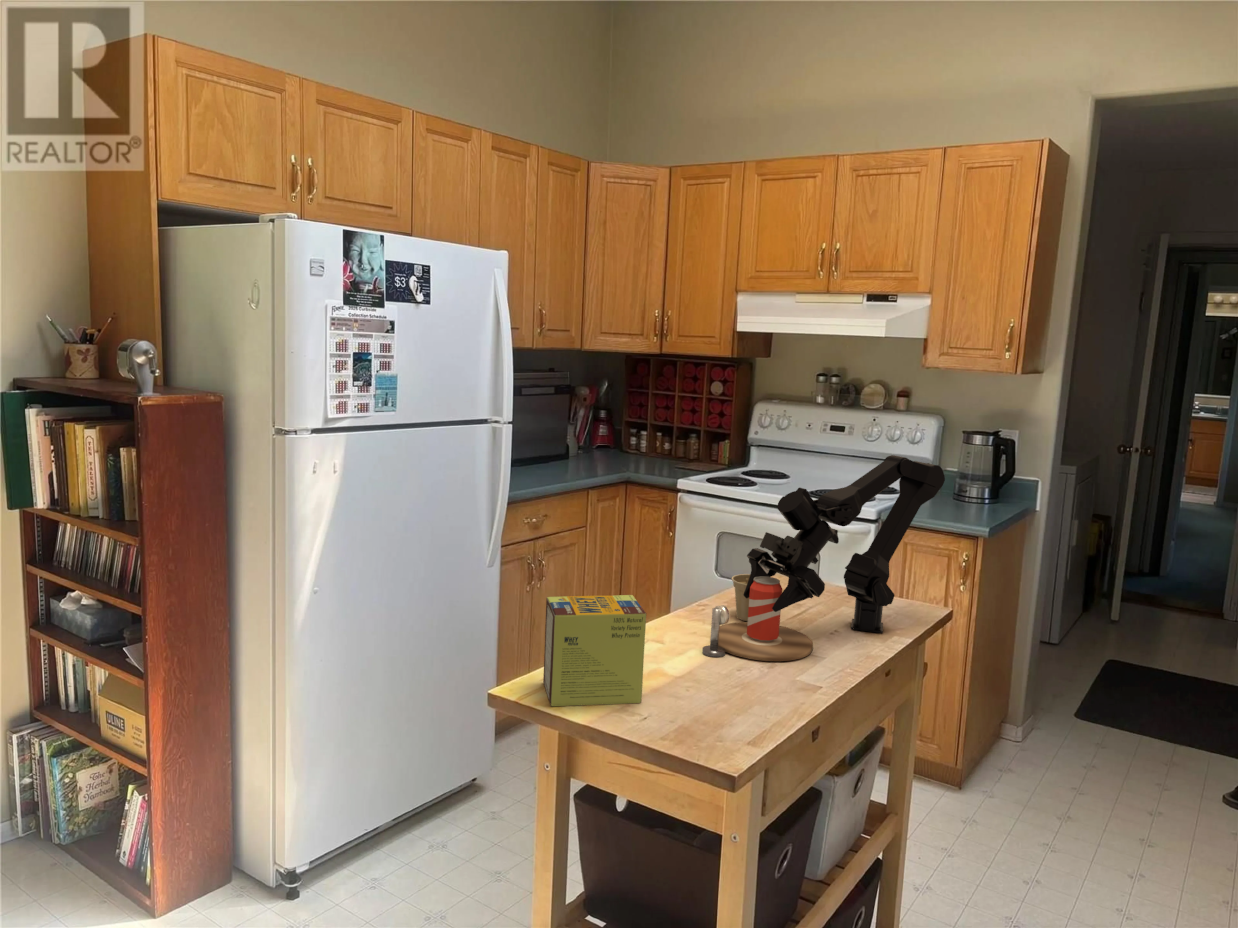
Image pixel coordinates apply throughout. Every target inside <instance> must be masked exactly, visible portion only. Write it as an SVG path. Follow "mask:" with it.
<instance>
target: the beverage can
mask: <svg viewBox="0 0 1238 928" xmlns="http://www.w3.org/2000/svg"><path fill="white" fill-rule="evenodd" d="M782 592H783V587H782V585H781V580H780V579H778V578H776V577H774V576H771V577H765V576H760V577H755V578H754V582H753V583H752V585H751V586H750V596H749V610H748V620H747V622H748V623H747V635H749V636H750V637H751V638H752V639H753V640H756V641H759V642H771V641H773V640H774V639H777V638H778V636H779V626H781V625H780V623H781V613H782V609H781V610H779V611H777V612H774V611H773V610H772V607H773V605H774V604H775V602H776V601H777V599H778V598H779V597H780V595H781V594H782Z"/></svg>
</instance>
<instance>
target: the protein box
mask: <svg viewBox="0 0 1238 928" xmlns="http://www.w3.org/2000/svg"><path fill="white" fill-rule="evenodd" d="M545 606H546V607H545V630H544V655H543V656H544V657H543V658H544V659H543V660H544V661H543V682H542V683H543V685H544V689H545V692H546V696H547V699H548V702H549V706H550V707H570V706H596V705H597V706H598V705H599V706H601V705H623V704H625V705H626V704H627V705H629V704H640V703H641V704H642V699H643V696H642V695H643V684H644V683H643V681H644V680H643V679H644V663H645V662H644V660H645V659H644V658H645V644H646V641H645V640H646V625H647V612H646V611H645V609H643V607H642V606H641V605H640V604H639V602H638V600H637V599H636V597H635V596H634V595H633V594H624V595H623V594H621V595H620V594H619V595H577V596H576V595H574V596H573V595H572V596H571V595H568V596H567V595H565V596H563V595H562V596H547V597H546V603H545Z"/></svg>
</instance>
